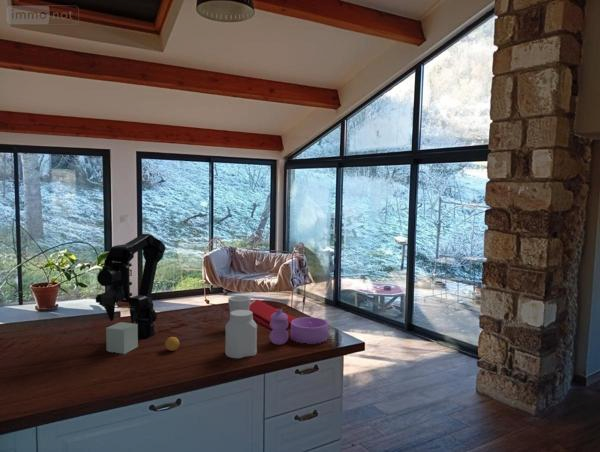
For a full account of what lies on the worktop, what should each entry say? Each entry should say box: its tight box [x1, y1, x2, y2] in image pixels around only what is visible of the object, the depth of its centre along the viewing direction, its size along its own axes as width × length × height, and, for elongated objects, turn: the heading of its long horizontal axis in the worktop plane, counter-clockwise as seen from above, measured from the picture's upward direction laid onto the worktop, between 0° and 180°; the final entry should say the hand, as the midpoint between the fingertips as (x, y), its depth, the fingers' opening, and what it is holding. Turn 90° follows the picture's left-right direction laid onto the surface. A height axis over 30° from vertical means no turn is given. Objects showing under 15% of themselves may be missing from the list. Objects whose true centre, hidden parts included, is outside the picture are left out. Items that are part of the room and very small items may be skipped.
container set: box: [269, 308, 330, 345], centre depth 182 cm, size 25×15×13 cm, turn 117°
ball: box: [164, 336, 180, 352], centre depth 168 cm, size 5×5×5 cm
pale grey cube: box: [105, 321, 139, 355], centre depth 168 cm, size 8×8×9 cm
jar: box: [224, 310, 258, 359], centre depth 166 cm, size 12×10×15 cm
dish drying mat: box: [249, 299, 298, 331], centre depth 214 cm, size 16×41×4 cm, turn 33°
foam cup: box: [227, 295, 252, 313], centre depth 195 cm, size 10×9×13 cm
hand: (122, 322), depth 168 cm, fingers open, 9 cm apart
